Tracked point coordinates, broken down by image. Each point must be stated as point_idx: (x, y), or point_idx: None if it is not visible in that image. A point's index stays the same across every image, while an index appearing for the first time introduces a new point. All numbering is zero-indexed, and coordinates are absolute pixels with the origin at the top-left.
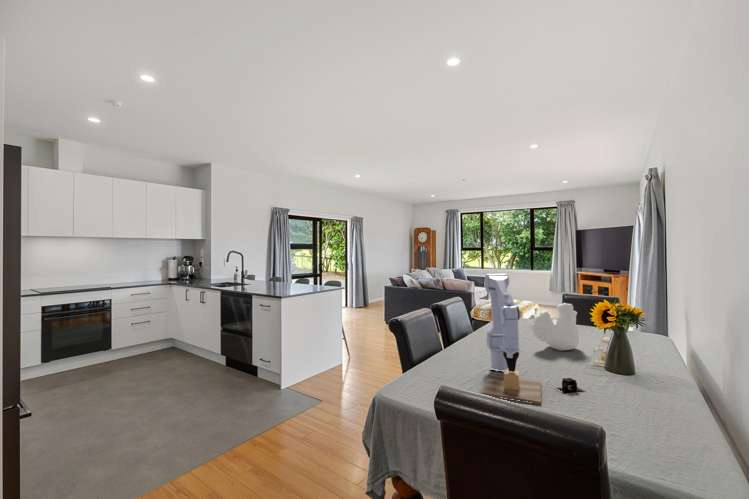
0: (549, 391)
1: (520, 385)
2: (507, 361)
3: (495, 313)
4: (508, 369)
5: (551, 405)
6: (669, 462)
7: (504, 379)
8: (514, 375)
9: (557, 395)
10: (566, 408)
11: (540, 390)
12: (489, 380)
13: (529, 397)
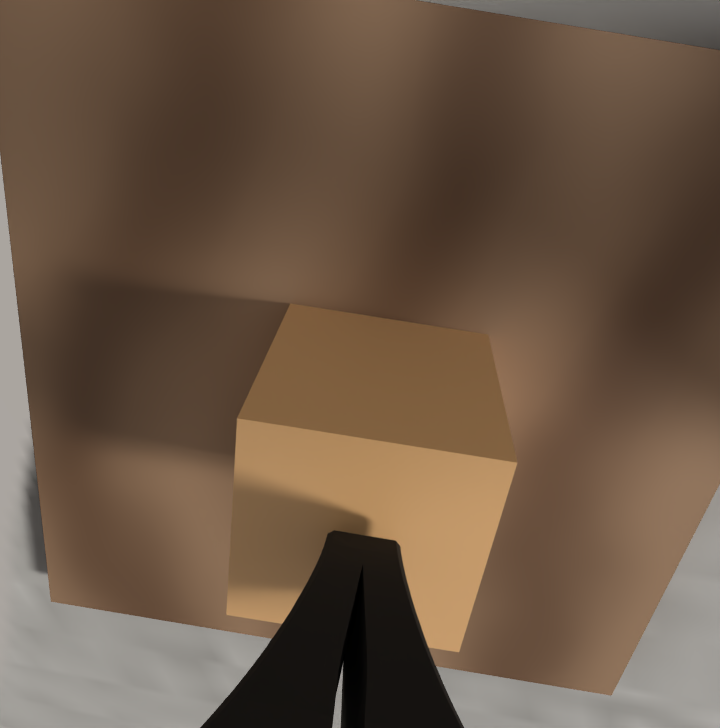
0: None
1: None
2: (232, 711)
3: None
4: (323, 549)
5: (102, 639)
6: None
7: (260, 372)
8: (232, 566)
9: (338, 716)
10: (94, 709)
11: None
12: (590, 83)
13: (106, 532)
